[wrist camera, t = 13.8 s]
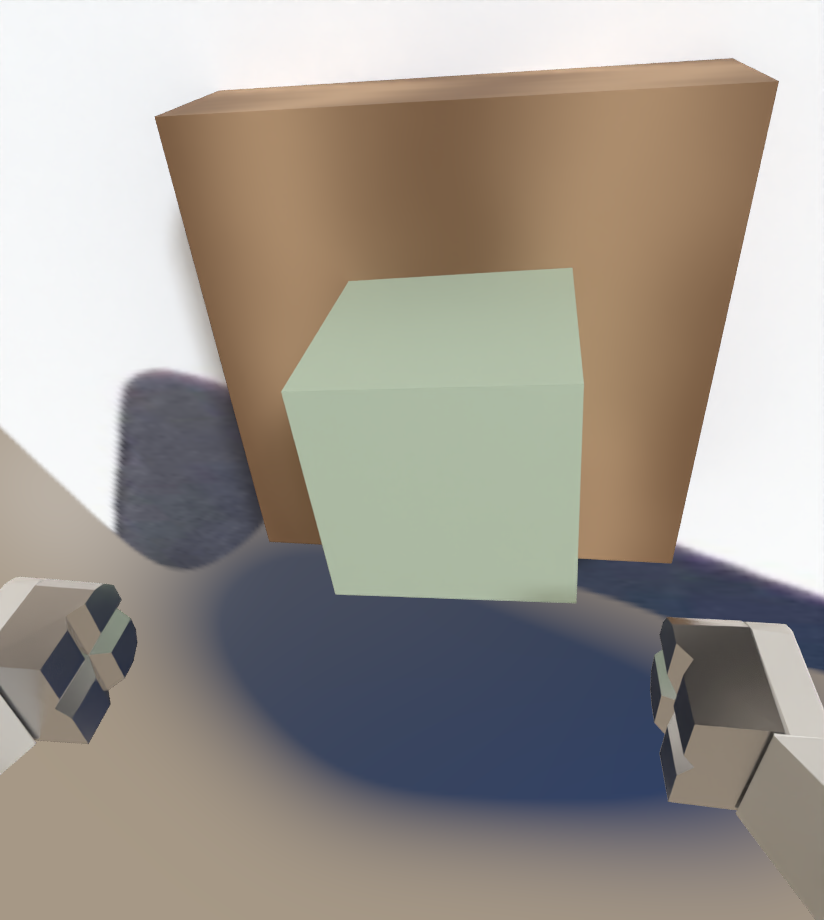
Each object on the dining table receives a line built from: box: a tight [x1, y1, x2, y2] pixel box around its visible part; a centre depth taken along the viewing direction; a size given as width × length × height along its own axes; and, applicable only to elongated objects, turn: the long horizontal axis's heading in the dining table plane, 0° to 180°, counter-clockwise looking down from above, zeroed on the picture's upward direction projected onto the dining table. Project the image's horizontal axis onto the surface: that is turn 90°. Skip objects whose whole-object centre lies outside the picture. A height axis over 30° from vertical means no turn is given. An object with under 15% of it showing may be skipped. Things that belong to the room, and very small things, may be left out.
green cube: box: [281, 268, 584, 603], centre depth 14 cm, size 5×5×5 cm
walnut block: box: [155, 58, 779, 563], centre depth 18 cm, size 12×12×4 cm
